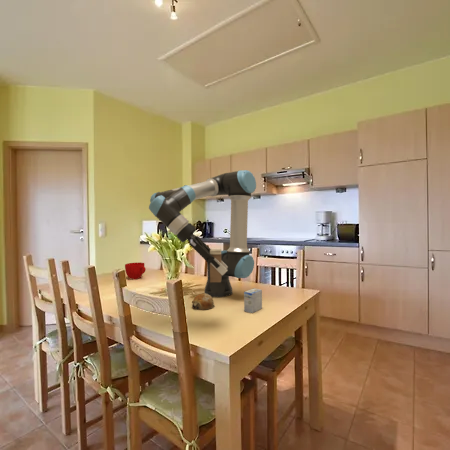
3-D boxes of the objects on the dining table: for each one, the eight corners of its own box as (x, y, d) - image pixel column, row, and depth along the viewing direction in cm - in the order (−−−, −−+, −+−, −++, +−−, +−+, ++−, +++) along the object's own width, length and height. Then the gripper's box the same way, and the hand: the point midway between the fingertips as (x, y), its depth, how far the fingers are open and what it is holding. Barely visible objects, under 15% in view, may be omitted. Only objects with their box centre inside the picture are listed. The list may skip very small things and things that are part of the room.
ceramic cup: (137, 281, 178) (137, 266, 178) (121, 279, 188) (120, 264, 187) (152, 278, 189) (152, 263, 189) (136, 275, 198) (136, 262, 198)
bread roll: (212, 317, 121) (219, 300, 122) (192, 310, 118) (199, 293, 119) (207, 310, 131) (214, 295, 132) (188, 303, 128) (195, 287, 129)
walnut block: (211, 278, 108) (211, 248, 108) (221, 278, 108) (221, 248, 107) (210, 282, 102) (209, 250, 102) (220, 282, 102) (220, 250, 101)
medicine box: (253, 306, 124) (253, 287, 124) (262, 308, 121) (262, 289, 121) (243, 311, 118) (243, 291, 118) (252, 313, 115) (252, 293, 115)
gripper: (180, 234, 114) (219, 273, 114) (170, 237, 95) (216, 284, 95) (193, 221, 114) (232, 260, 114) (184, 222, 95) (231, 268, 95)
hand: (225, 271), depth 105 cm, fingers closed on walnut block, 6 cm apart
